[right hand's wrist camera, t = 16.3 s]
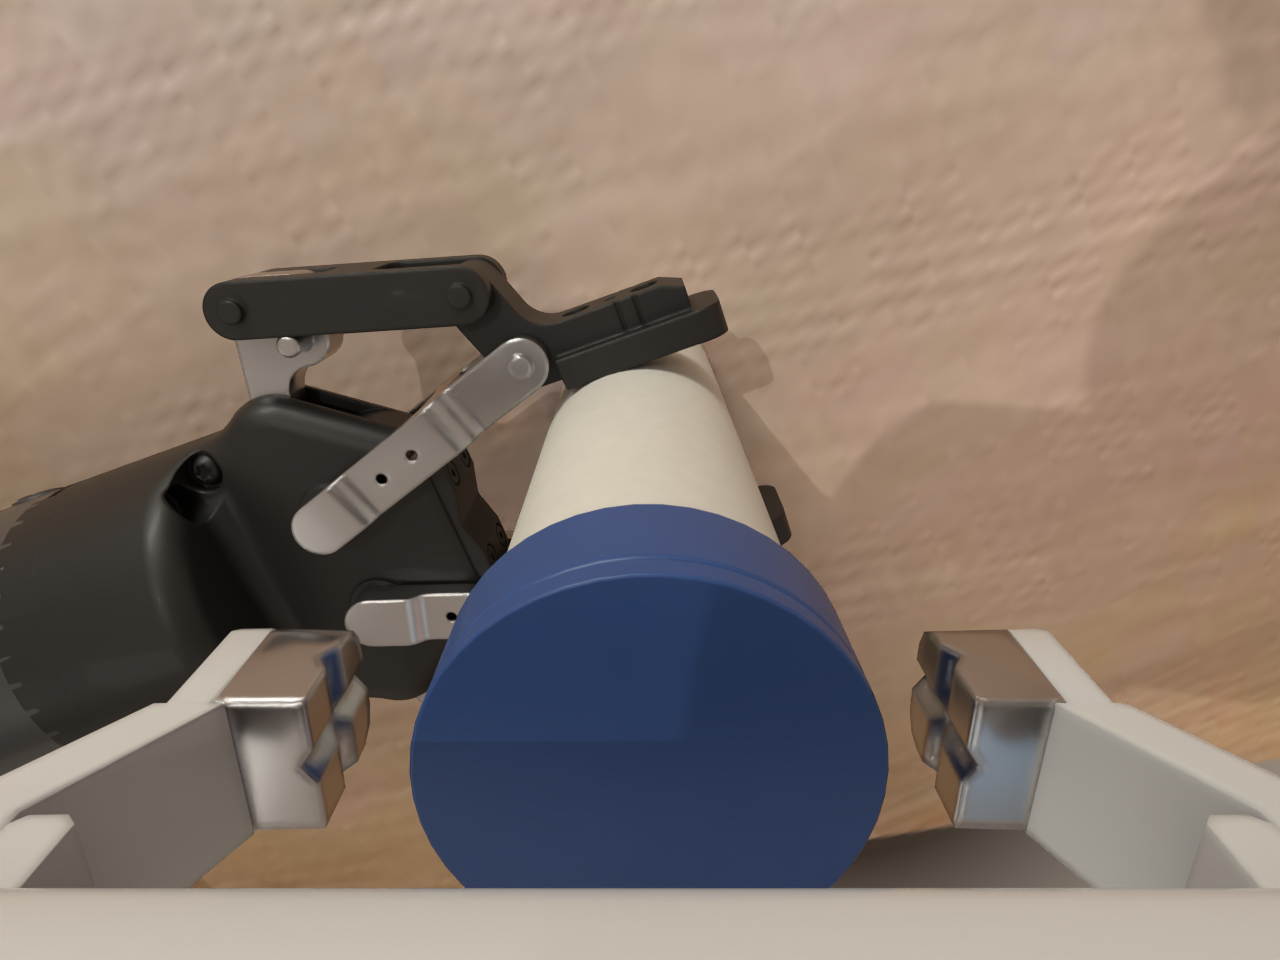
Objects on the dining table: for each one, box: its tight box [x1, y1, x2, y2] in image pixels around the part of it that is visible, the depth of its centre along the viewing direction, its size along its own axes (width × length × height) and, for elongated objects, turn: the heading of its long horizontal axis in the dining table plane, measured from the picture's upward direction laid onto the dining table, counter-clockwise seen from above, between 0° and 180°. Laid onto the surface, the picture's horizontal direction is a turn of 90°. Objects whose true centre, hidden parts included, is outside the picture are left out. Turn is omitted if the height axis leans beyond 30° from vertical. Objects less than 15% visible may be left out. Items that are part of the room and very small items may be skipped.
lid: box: [410, 504, 888, 888], centre depth 9 cm, size 5×5×2 cm
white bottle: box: [507, 344, 781, 552], centre depth 17 cm, size 4×4×17 cm
